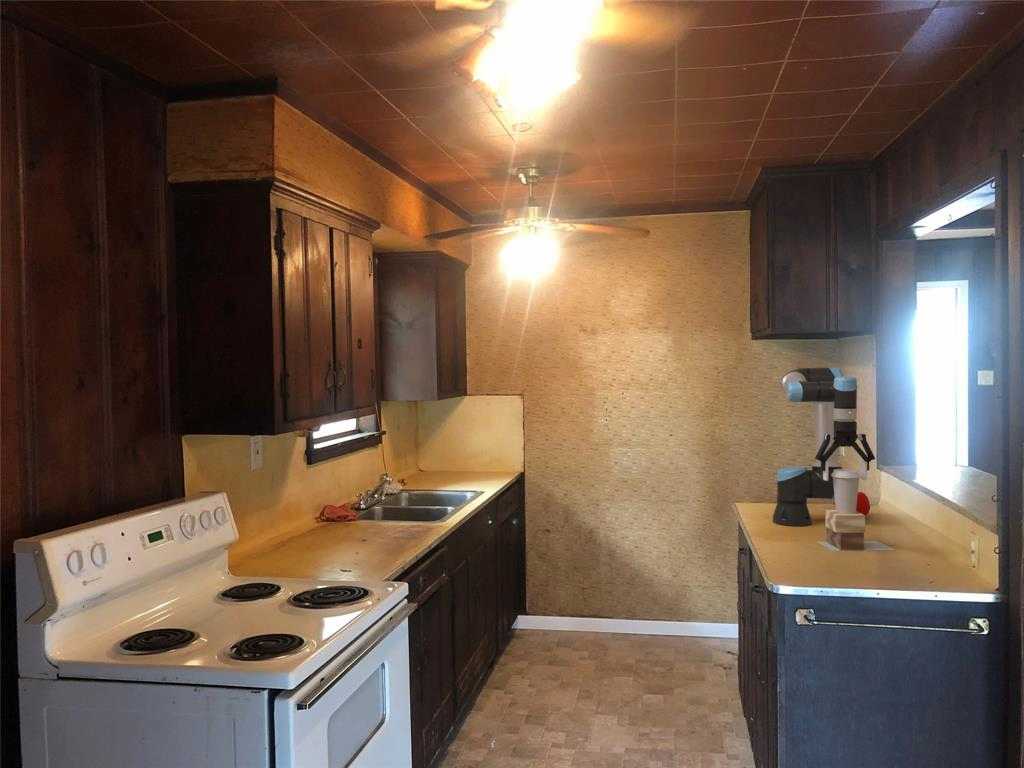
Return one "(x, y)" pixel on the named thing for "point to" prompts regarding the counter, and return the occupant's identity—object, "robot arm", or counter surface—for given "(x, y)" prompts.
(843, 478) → the coffee cup
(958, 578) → the counter surface
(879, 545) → the board
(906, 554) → the counter surface
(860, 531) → the oak brick
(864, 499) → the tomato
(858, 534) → the walnut base brick
